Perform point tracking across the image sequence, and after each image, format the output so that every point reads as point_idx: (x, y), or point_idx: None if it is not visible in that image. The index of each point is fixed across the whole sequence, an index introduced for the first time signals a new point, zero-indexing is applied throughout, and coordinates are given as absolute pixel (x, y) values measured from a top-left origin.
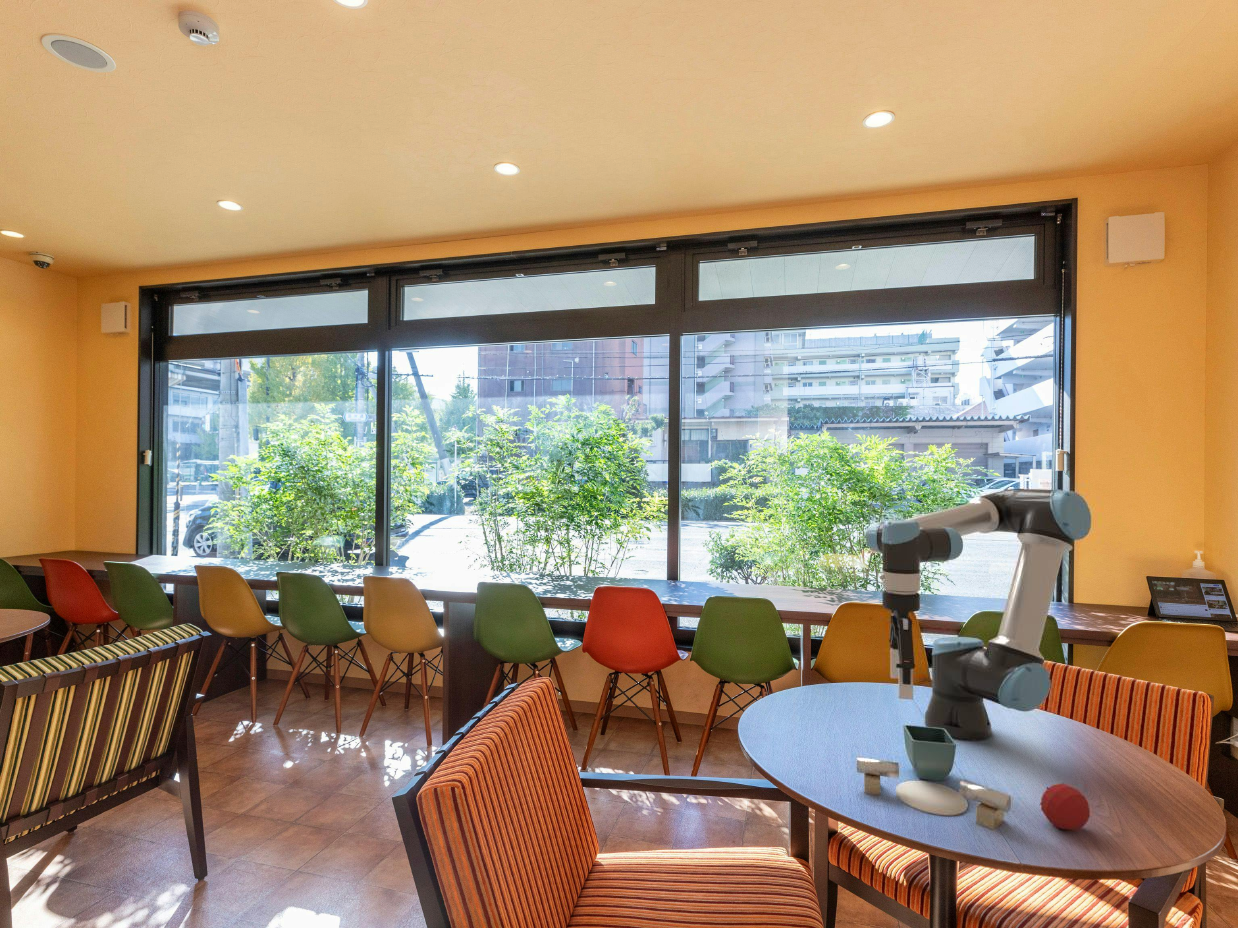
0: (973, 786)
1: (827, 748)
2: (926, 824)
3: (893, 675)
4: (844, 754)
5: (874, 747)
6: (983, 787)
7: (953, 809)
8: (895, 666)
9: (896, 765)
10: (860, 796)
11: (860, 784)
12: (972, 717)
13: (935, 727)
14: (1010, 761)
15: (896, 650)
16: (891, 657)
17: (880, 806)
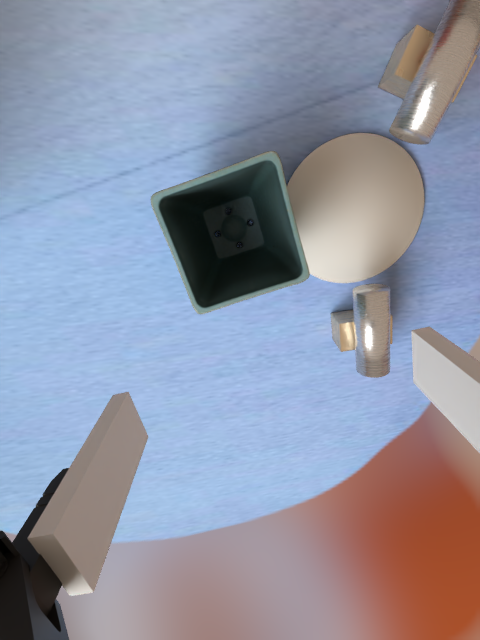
0: (445, 100)
1: (216, 416)
2: (469, 213)
3: (141, 437)
4: (226, 387)
5: (154, 345)
6: (453, 69)
7: (396, 163)
8: (122, 466)
9: (385, 296)
10: (397, 335)
11: None
12: None
13: (159, 224)
14: (6, 13)
15: (80, 563)
16: (114, 529)
17: (424, 299)
